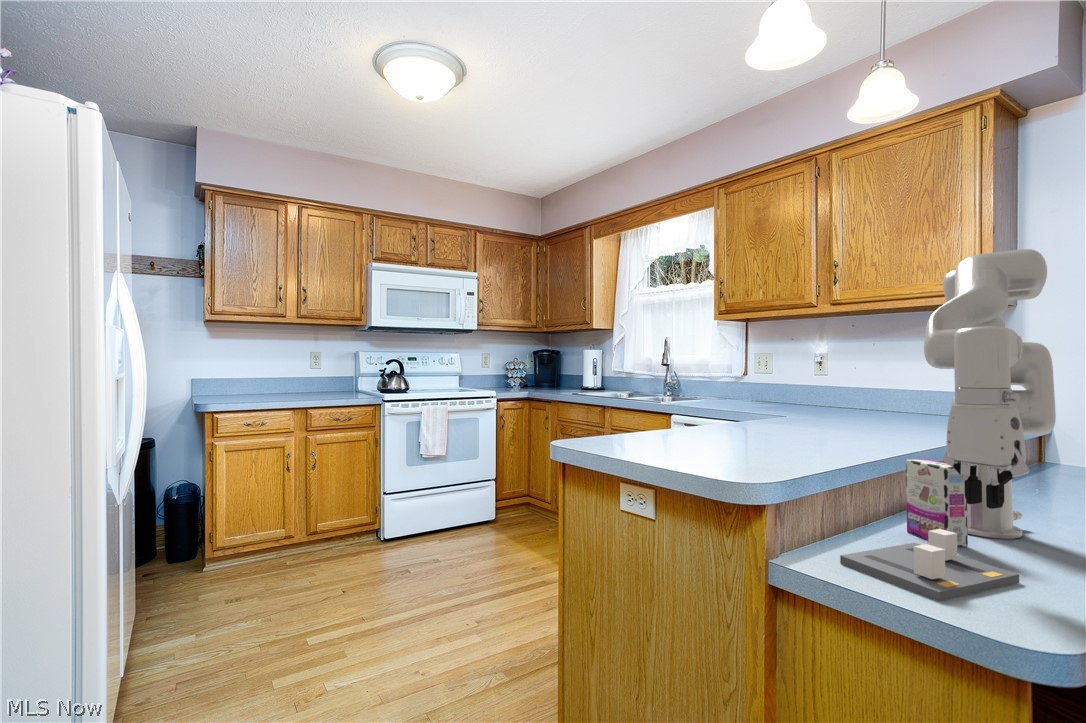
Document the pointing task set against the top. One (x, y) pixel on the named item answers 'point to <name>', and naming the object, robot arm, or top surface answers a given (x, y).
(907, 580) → the panel
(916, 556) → the block
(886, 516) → the top surface
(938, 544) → the block
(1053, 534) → the top surface
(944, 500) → the candy bar box
